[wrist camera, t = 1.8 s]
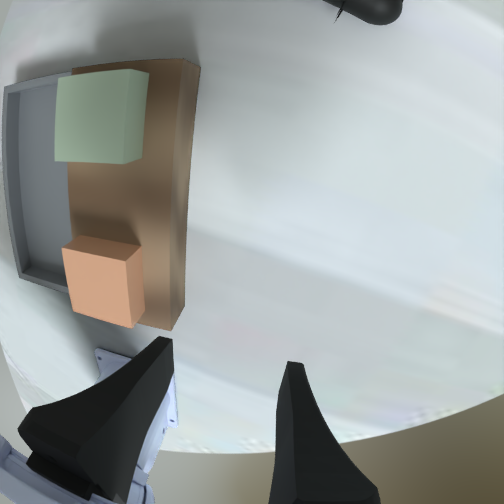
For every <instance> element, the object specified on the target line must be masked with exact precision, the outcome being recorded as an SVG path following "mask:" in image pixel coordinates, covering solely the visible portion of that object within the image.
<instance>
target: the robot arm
mask: <svg viewBox="0 0 504 504" xmlns="http://www.w3.org/2000/svg"><path fill="white" fill-rule="evenodd" d="M94 353H95V357H96V360H97V364H98V367H99V371H100V374H101V375H100V377H99V378H98V380H97V381H96V383H95V385H93V386H92V387H90V388H88V389H86V390H84V391H82V392H80V393H77V394H75V395H73V396H70V397H68V398H65V399H62V400H60V401H57V402H53V403H50V404H46V405H42V406H38V407H33V408H32V409H31V410H30V411H29V413H28V414H27V415H26V417H25V418H24V420H23V421H22V423H21V424H20V426H19V427H18V432H19V434H20V436H21V437H22V439H23V440H24V441H25V443H26V444H27V445H28V446H29V447H30V449H31V450H32V451H33V452H32V454H31V455H30V457H29V458H27V457H26V456H24V455H23V454H21V453H20V452H18V451H17V450H15V449H14V448H12V446H11V445H10V443H9V442H8V441H7V440H6V439H5V438H4V437H2V436H1V435H0V492H1V493H2V494H4V495H5V496H6V497H7V498H9V499H10V500H12V501H13V502H14V503H16V504H155V499H154V495H153V491H152V488H151V487H150V486H149V485H148V484H146V481H147V479H148V476H149V475H148V474H147V473H148V472H149V471H150V469H151V468H152V466H153V464H154V461H155V459H156V456H157V453H158V451H159V448H160V446H161V443H162V440H163V438H164V435H165V433H166V430H167V427H168V426H169V427H172V428H177V426H178V418H177V408H176V396H175V384H174V360H173V341H172V339H170V338H165V337H161V336H159V337H157V338H156V339H155V340H154V341H153V342H151V343H150V344H149V345H148V346H147V347H146V348H145V349H143V350H142V351H141V352H140V353H139V354H138V355H136V356H135V357H134V358H133V359H131V358H127V357H124V356H121V355H118V354H115V353H111V352H108V351H105V350H102V349H99V348H97V349H96V350H95V351H94ZM268 504H381V503H380V497H379V493H378V489H377V487H376V486H375V485H374V484H373V483H372V482H371V481H370V480H369V479H368V478H367V477H366V476H365V475H364V474H363V473H362V472H361V471H360V470H359V469H358V468H357V467H356V466H355V464H354V463H353V462H352V461H351V460H350V458H349V457H348V456H347V454H346V453H345V452H344V451H343V449H342V448H341V446H340V445H339V443H338V442H337V440H336V439H335V437H334V436H333V434H332V432H331V431H330V429H329V427H328V426H327V424H326V422H325V420H324V418H323V416H322V414H321V412H320V410H319V407H318V405H317V403H316V400H315V398H314V396H313V393H312V390H311V388H310V385H309V382H308V379H307V376H306V372H305V368H304V365H303V364H302V363H298V362H291V361H288V362H287V365H286V369H285V372H284V376H283V379H282V383H281V386H280V389H279V394H278V402H277V410H276V449H275V466H274V472H273V479H272V485H271V492H270V498H269V503H268Z"/></svg>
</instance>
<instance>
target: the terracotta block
mask: <svg viewBox="0 0 504 504" xmlns="http://www.w3.org/2000/svg"><path fill="white" fill-rule="evenodd" d="M62 255H63V261H64V267H65V273H66V279H67V284H68V289H69V294H70V299H71V304H72V308H73V311H74V312H77V313H81V314H84V315H87V316H90V317H93V318H96V319H100V320H103V321H106V322H110V323H113V324H117V325H120V326H124V327H127V328H131V329H133V327H134V326H135V324H136V323H137V321H138V320H139V318H140V317H141V316H142V314H143V313H144V311H145V301H144V287H143V269H142V246H138V245H133V244H127V243H122V242H116V241H111V240H105V239H100V238H94V237H89V236H84V235H79V236H78V237H76V238H75V239H73V240H72V241H70V242H69V243H67V244H66V245H65V246H63V247H62Z"/></svg>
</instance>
